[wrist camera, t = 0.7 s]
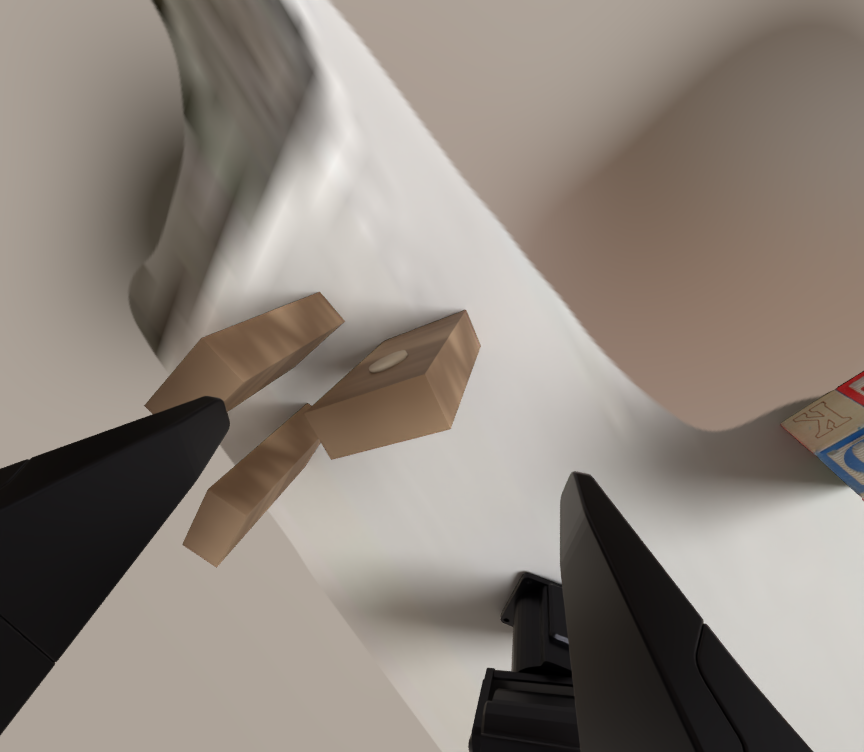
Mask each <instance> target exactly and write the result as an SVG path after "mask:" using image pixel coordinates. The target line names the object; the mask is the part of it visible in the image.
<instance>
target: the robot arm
mask: <svg viewBox="0 0 864 752" xmlns="http://www.w3.org/2000/svg"><path fill="white" fill-rule="evenodd" d="M229 426H230V421H229V417H228V414H227V410H226V406H225V403H224V401H223V400H222V399H221V398H217V397H212V396H203V397H200V398H197V399H195V400H192V401H189V402H186V403H183V404H181V405H178V406H175V407H172V408H169V409H167V410H164V411H161V412H158V413H155V414H153V415H150V416H147V417H145V418H141V419H139V420H136V421H133V422H130V423H127V424H125V425H122V426H119V427H116V428H114V429H111V430H108V431H105V432H102V433H99V434H97V435H94V436H91V437H88V438H85V439H83V440H80V441H77V442H74V443H71V444H69V445H66V446H63V447H60V448H57V449H55V450H52V451H49V452H46V453H43V454H41V455H38V456H35V457H32V458H31V459H30V460H28V459H27V460H23V461H21V462H18V463H15V464H12V465H10V466H7V467H4V468H1V469H0V735H1V734H2V733H3V731H4V730H5V729H6V727H7V726H8V725H9V723H10V722H11V721H12V720H13V718H14V717H15V716H16V714H17V713H18V712H19V711H20V709H21V708H22V707H23V705H24V704H25V703H26V701H27V700H28V699H29V698H30V696H31V695H32V694H33V692H34V691H35V690H36V688H37V687H38V686H39V685H40V683H41V682H42V681H43V679H44V678H45V677H46V675H47V674H48V673H49V672H50V670H51V669H52V668H53V666H54V665H55V662H57V661H58V660H59V658H60V657H61V656H62V654H63V653H64V652H65V651H66V649H67V648H68V647H69V645H70V644H71V643H72V641H73V640H74V639H75V638H76V636H77V635H78V634H79V632H80V631H81V630H82V629H83V627H84V626H85V625H86V623H87V622H88V621H89V619H90V618H91V617H92V615H93V614H94V613H95V612H96V610H97V609H98V608H99V607H100V605H101V604H102V602H103V601H104V600H105V598H106V597H107V596H108V595H109V594H110V592H111V591H112V590H113V588H114V587H115V586H116V584H117V583H118V582H119V581H120V579H121V578H122V577H123V575H124V574H125V573H126V571H127V570H128V569H129V568H130V566H131V565H132V564H133V562H134V561H135V560H136V559H137V557H138V556H139V555H140V553H141V552H142V551H143V550H144V548H145V547H146V546H147V544H148V543H149V542H150V540H151V539H152V538H153V537H154V535H155V534H156V533H157V531H158V530H159V529H160V527H161V526H162V525H163V524H164V522H165V521H166V520H167V518H168V517H169V516H170V514H171V513H172V512H173V511H174V509H175V508H176V507H177V505H178V504H179V503H180V502H181V500H182V499H183V498H184V496H185V495H186V494H187V493H188V491H189V490H190V489H191V487H192V486H193V485H194V483H195V482H196V481H197V479H198V478H199V476H200V474H201V473H202V471H203V470H204V468H205V467H206V465H207V464H208V462H209V460H210V459H211V457H212V456H213V454H214V452H215V451H216V449H217V448H218V446H219V444H220V443H221V441H222V440H223V438H224V436H225V435H226V433H227V432H228V429H229ZM560 568H561V579H562V586H561V585H559V584H556V583H554V582H551V581H548V580H546V579H543V578H540V577H538V576H535V575H533V574H530V573H525V574H523V575H522V577H521V579H520V581H519V582H518V584H517V586H516V588H515V590H514V591H513V593H512V595H511V597H510V599H509V601H508V602H507V604H506V606H505V608H504V610H503V611H502V613H501V621H502V622H503V623H505V624H508V625H510V626H513V645H512V670H511V671H501V670H495V669H494V668H487V670H486V674H485V679H483V683H482V687H481V692H480V696H479V701H478V705H477V710H476V715H475V719H474V724H473V728H472V734H471V736H470V739H469V752H813V751H812V750H811V748H810V747H809V746H808V745H807V744H806V743H805V742H804V740H803V739H802V738H801V737H800V736H799V735H798V734H797V732H796V731H795V730H794V729H793V728H792V727H791V726H790V725H789V723H788V722H787V721H786V720H785V719H784V718H783V717H782V715H781V714H780V713H779V712H778V711H777V709H776V708H775V707H774V706H773V705H772V704H771V702H770V701H769V700H768V699H767V698H766V697H765V695H764V694H763V693H762V692H761V691H760V690H759V688H758V687H757V686H756V685H755V684H754V683H753V681H752V680H751V679H750V678H749V677H748V675H747V674H746V673H745V672H744V670H743V669H742V668H741V667H740V665H739V664H738V663H737V662H736V660H735V659H734V658H733V657H732V655H731V654H730V653H729V652H728V650H727V649H726V648H725V647H724V645H723V644H722V643H721V642H720V640H719V639H718V638H717V636H716V635H715V634H714V633H713V631H712V630H711V629H710V627H709V626H708V625H707V624H703V622H704V621H703V619H702V617H701V616H700V615H699V613H698V612H697V611H696V610H695V608H694V607H693V606H692V604H691V603H690V602H689V601H688V599H687V598H686V597H685V595H684V594H683V593H682V592H681V590H680V589H679V588H678V586H677V585H676V584H675V583H674V581H673V580H672V579H671V577H670V576H669V575H668V574H667V572H666V571H665V570H664V568H663V567H662V566H661V564H660V563H659V562H658V561H657V559H656V558H655V557H654V555H653V554H652V553H651V552H650V550H649V549H648V548H647V546H646V545H645V544H644V543H643V541H642V540H641V539H640V537H639V536H638V535H637V534H636V532H635V531H634V530H633V528H632V527H631V526H630V525H629V523H628V522H627V521H626V519H625V518H624V517H623V515H622V514H621V513H620V512H619V510H618V509H617V508H616V506H615V505H614V504H613V503H612V501H611V500H610V499H609V497H608V496H607V495H606V494H605V492H604V491H603V490H602V488H601V487H600V486H599V485H598V483H597V482H596V481H595V479H594V478H593V477H592V476H591V475H589V474H586V473H581V472H576V471H574V472H572V473H571V474H570V476H569V478H568V481H567V483H566V485H565V488H564V490H563V492H562V495H561V501H560Z"/></svg>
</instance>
